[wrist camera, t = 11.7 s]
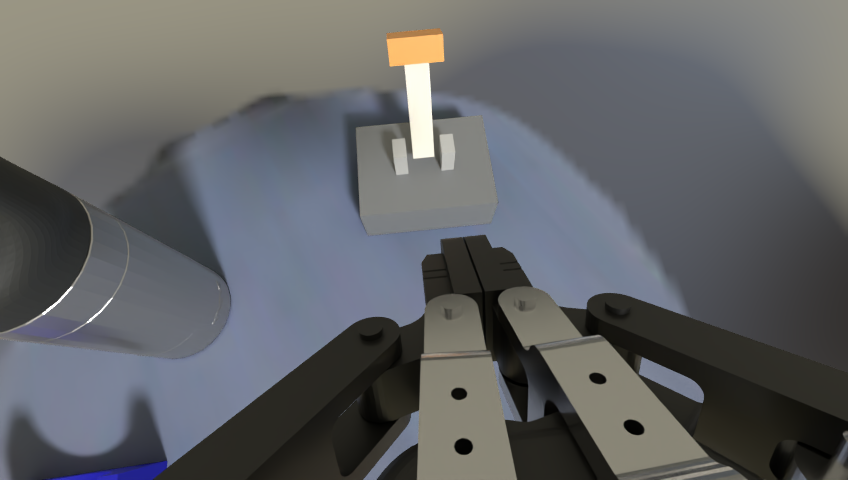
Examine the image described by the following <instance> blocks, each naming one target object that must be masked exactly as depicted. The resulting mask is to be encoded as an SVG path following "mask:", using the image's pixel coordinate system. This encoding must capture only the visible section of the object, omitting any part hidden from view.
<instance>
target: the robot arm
mask: <svg viewBox="0 0 848 480" xmlns="http://www.w3.org/2000/svg"><path fill="white" fill-rule="evenodd" d="M422 273H423V283H424V293H425V303H426V307H425V313H424V314H423V316H422V317H421V318H419V319H418V320H417V321H415V322H413V323H411V324H409V325H406V326H403V327H400V328H399V326H398V324H397V323H396V322H395V321H393V320H391V319H389V318H385V317H371V318H366V319H363V320H360V321H358V322H356V323H354V324H353V325H351V326H350V327H349V328H347V329H346V330H345V331H343V332H342V333H341V334H339V335H338V336H337V337H336V338H334V339H333V340H332V341H330V342H329V343H328V344H327V345H325V346H324V347H323V348H321V349H320V350H319V351H318V352H316V353H315V354H314V355H312V356H311V357H310V358H309V359H307V360H306V361H305V362H303V363H302V364H301V365H299V366H298V367H297V368H296V369H294V370H293V371H292V372H290V373H289V374H288V375H287V376H285V377H284V378H283V379H281V380H280V381H279V382H278V383H276V384H275V385H274V386H272V387H271V388H270V389H268V390H267V391H266V392H265V393H263V394H262V395H261V396H259V397H258V398H257V399H256V400H254V401H253V402H252V403H250V404H249V405H248V406H247V407H245V408H244V409H243V410H241V411H240V412H239V413H238V414H236V415H235V416H234V417H232V418H231V419H230V420H228V421H227V422H226V423H225V424H223V425H222V426H221V427H219V428H218V429H217V430H216V431H214V432H213V433H212V434H210V435H209V436H208V437H207V438H205V439H204V440H203V441H201V442H200V443H199V444H198V445H196V446H195V447H194V448H192V449H191V450H190V451H188V452H187V453H186V454H185V455H183V456H182V457H181V458H179V459H178V460H177V461H176V462H174V463H173V464H172V465H170V466H169V467H168V468H167V469H165V470H164V471H163V472H161V473H160V474H159V475H157V476H156V477H155V478H154V479H152V480H363V479H364V478H365V477H366V475H367V474H368V473H369V472H370V470H371V469H372V468H373V467H374V466H375V464H376V463H377V462H378V461H379V459H380V458H381V457H382V456H383V455H384V453H385V452H386V451H387V450H388V449H389V447H390V446H391V445H392V444H393V442H394V441H395V440H396V439H397V438H398V436H399V435H400V434H401V433H402V431H403V430H404V429H405V428H406V426H407V425H408V423H409V421H410V418H411V413H413V412H416V411H418V410H419V434H418V444H416V445H414V446H412V447H410V448H409V449H407V450H406V451H404V452H403V453H402V454H400V455H399V456H398V457H397V458H396V459H394V460H393V461H392V462H391V463H390V464H389V465H388V466H387V468H386V469H385V470H384V471H383V472H382V473H381V475H380V476H379V477H378V479H377V480H848V373H847V372H844V371H841V370H838V369H835V368H832V367H829V366H827V365H824V364H821V363H818V362H815V361H812V360H809V359H806V358H804V357H801V356H798V355H795V354H792V353H790V352H787V351H784V350H781V349H778V348H775V347H772V346H769V345H767V344H764V343H761V342H758V341H755V340H752V339H750V338H747V337H743V336H741V335H738V334H735V333H732V332H729V331H727V330H724V329H721V328H718V327H715V326H712V325H710V324H706V323H704V322H701V321H698V320H695V319H692V318H690V317H687V316H684V315H681V314H678V313H675V312H673V311H670V310H667V309H664V308H661V307H658V306H655V305H653V304H650V303H647V302H644V301H641V300H638V299H635V298H633V297H630V296H626V295H622V294H616V293H603V294H598V295H595V296H593V297H591V298H590V299H589V300H588V302H587V309H576V308H566V307H560V306H558V305H557V304H556V303H555V302H554V300H553V299H552V298H551V297H550V295H549V294H547V293H546V292H544V291H542V290H540V289H537V288H533V286H532V285H531V283H530V281H529V280H528V278H527V276H526V275H525V273H524V271H523V270H522V269H521V266H520V265H519V263H518V262H517V260H516V258H515V256H514V255H513V253H511V252H510V251H508V250H506V249H505V248H503V247H499V248H492V247H491V245H490V243H489V241H488V239H487V237H486V235H478V236H468V237H463V238H462V237H459V238H449V239H441V254H431V255H427V256H426V257H425V259H424V260H423V261H422ZM229 311H230V294H229V290H228V287H227V285H226V283H225V282H224V280H223V279H222V278H221V277H220V276H219V275H218V274H217V273H216V272H214V271H213V270H211V269H209V268H207V267H205V266H204V265H202V264H200V263H198V262H196V261H194V260H193V259H191V258H189V257H187V256H186V255H184V254H182V253H180V252H178V251H176V250H175V249H173V248H171V247H169V246H167V245H165V244H164V243H162V242H160V241H158V240H156V239H154V238H152V237H151V236H149V235H147V234H145V233H143V232H141V231H140V230H138V229H136V228H134V227H132V226H130V225H129V224H127V223H125V222H123V221H121V220H119V219H117V218H116V217H114V216H112V215H110V214H108V213H106V212H104V211H102V210H100V209H99V208H97V207H95V206H93V205H91V204H89V203H88V202H86V201H84V200H82V199H80V198H78V197H76V196H74V195H73V194H71V193H69V192H67V191H65V190H64V189H62V188H60V187H58V186H56V185H54V184H52V183H50V182H48V181H46V180H44V179H42V178H40V177H38V176H36V175H34V174H32V173H30V172H28V171H26V170H24V169H22V168H20V167H19V166H17V165H15V164H13V163H11V162H9V161H7V160H5V159H3V158H2V157H0V339H3V340H11V341H20V342H31V343H39V344H48V345H56V346H65V347H73V348H82V349H91V350H99V351H108V352H116V353H125V354H133V355H140V356H149V357H158V358H167V359H178V358H185V357H188V356H191V355H194V354H196V353H198V352H199V351H201V350H203V349H204V348H206V347H207V346H208V345H209V344H211V343H212V342H213V341H214V340H215V339H216V337H217V336H218V335H219V334H220V332H221V331H222V329H223V327H224V326H225V324H226V321H227V318H228V316H229ZM642 357H644V358H646V359H648V360H650V361H653V362H655V363H657V364H659V365H662V366H664V367H666V368H668V369H671V370H673V371H675V372H677V373H680V374H682V375H684V376H686V377H688V378H690V379H692V380H693V381H695V382H696V383H697V384H698V385H699V386H700V387H701V389H702V391H703V393H704V401H703V403H699V402H696V401H694V400H692V399H690V398H687V397H685V396H683V395H681V394H679V393H677V392H675V391H673V390H671V389H669V388H667V387H664V386H662V385H660V384H658V383H656V382H654V381H652V380H650V379H648V378H646V377H644V376H641V375H639V370H640V364H641V359H642ZM493 361H497V362H498V365H499V383H500V386H501V388H502V391H503V393H504V395H505V398H506V400H507V403H508V405H509V407H510V410H511V412H512V414H513V417H514V419H515V421H512V420H505V419H504V414H503V409H502V404H501V400H500V395H499V390H498V385H497V380H496V375H495V371H494V366H493ZM356 399H357V400H356ZM355 400H356V401H355ZM354 401H355V402H354ZM353 402H354V403H353ZM352 403H353V404H352ZM351 404H352V405H351ZM350 405H351V406H350ZM349 406H350V407H349ZM348 407H349V408H348ZM347 408H348V409H347ZM346 409H347V410H346ZM345 410H346V411H345ZM344 411H345V412H344ZM343 412H344V413H343ZM342 413H343V414H342ZM341 414H342V415H341Z"/></svg>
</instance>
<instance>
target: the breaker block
mask: <svg viewBox="0 0 848 480" xmlns="http://www.w3.org/2000/svg"><path fill="white" fill-rule="evenodd" d="M432 124H433V142H434V157H426V158H415V159H413V151H412V141H411V130H410V122H407V123H396V124H386V125H376V126H365V127H356V142H357V163H358V184H359V205H360V217H361V220H362V222H363V225H364V227H365V229H366V232H367V234H368V236H371V235H381V234H391V233H401V232H411V231H421V230H430V229H440V228H450V227H460V226H470V225H480V224H490V223H491V222H492V219H493V216H494V213H495V210H496V207H497V205H498V199H497V193H496V188H495V183H494V177H493V172H492V166H491V161H490V156H489V150H488V145H487V140H486V134H485V129H484V123H483V118H482V115H480V116H469V117H459V118H448V119H438V120H432Z"/></svg>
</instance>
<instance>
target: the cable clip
mask: <svg viewBox="0 0 848 480" xmlns="http://www.w3.org/2000/svg"><path fill="white" fill-rule="evenodd" d="M165 469H167V461H162V462H156V463H149V464H142V465H136V466H129V467H123V468H116V469H109V470H103V471H96V472H90V473H83V474H76V475H70V476H63V477H57V478H50V479H44V480H152V479H154V478H155V477H156V476H157V475H159V474H160V473H161V472H163V471H164V470H165Z"/></svg>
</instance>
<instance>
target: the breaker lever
mask: <svg viewBox="0 0 848 480" xmlns="http://www.w3.org/2000/svg"><path fill="white" fill-rule="evenodd" d="M387 45H388V53H389V62H390V66H398V65H404V66H405V77H406V87H407V98H408V109H409V119H410V130H411V141H412V151H413V159H415V158H426V157H434V142H433V124H432V107H431V90H430V72H429V63H432V62H442V61H444V48H443V33H442V31H441V30H440V28H437V29H427V30H416V31H405V32H395V33H387Z"/></svg>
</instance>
